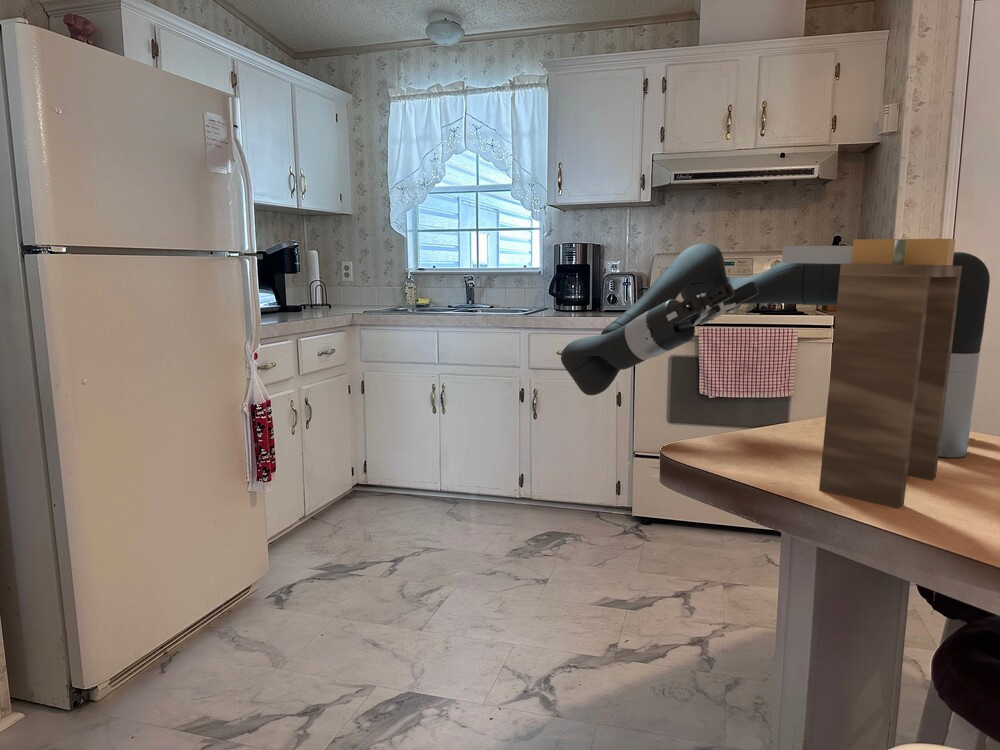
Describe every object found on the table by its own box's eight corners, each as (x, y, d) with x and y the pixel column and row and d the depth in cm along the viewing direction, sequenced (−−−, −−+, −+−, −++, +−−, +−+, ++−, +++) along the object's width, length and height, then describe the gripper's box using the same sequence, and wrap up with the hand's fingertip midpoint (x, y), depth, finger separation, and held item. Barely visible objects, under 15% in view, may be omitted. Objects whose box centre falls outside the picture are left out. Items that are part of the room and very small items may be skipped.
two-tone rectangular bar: (789, 263, 101) (791, 240, 101) (952, 265, 87) (955, 239, 87) (780, 262, 99) (782, 240, 99) (946, 265, 85) (949, 238, 85)
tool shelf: (863, 463, 109) (886, 244, 104) (935, 477, 103) (964, 244, 97) (819, 490, 96) (842, 240, 90) (899, 508, 89) (930, 239, 84)
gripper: (688, 347, 120) (773, 307, 109) (644, 355, 110) (733, 313, 99) (672, 307, 121) (754, 265, 110) (627, 312, 111) (712, 265, 100)
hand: (744, 287), depth 105 cm, fingers open, 8 cm apart
